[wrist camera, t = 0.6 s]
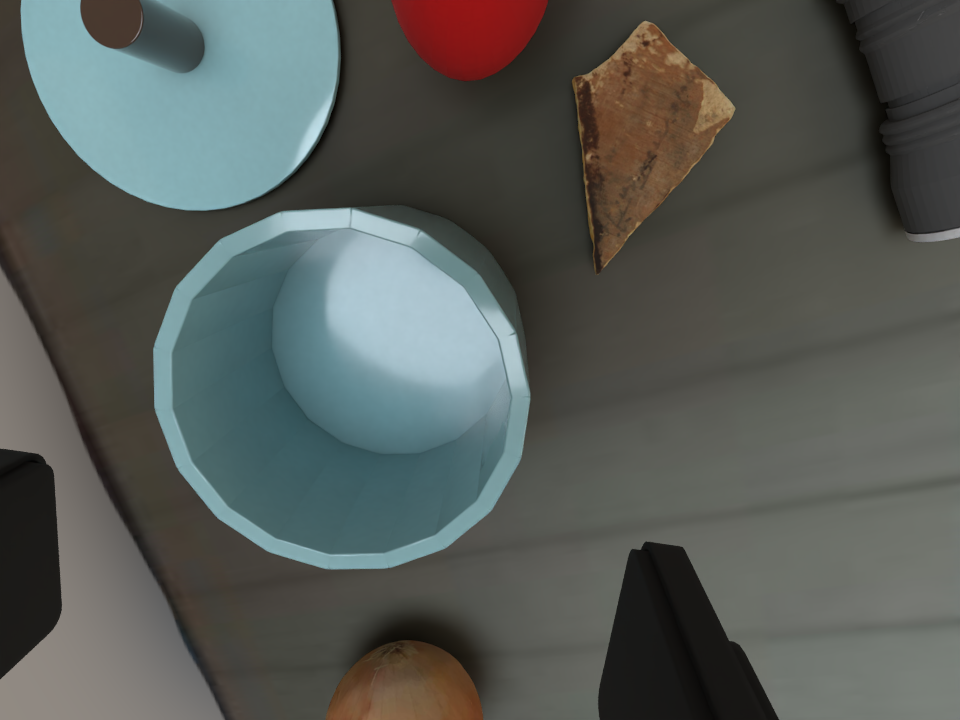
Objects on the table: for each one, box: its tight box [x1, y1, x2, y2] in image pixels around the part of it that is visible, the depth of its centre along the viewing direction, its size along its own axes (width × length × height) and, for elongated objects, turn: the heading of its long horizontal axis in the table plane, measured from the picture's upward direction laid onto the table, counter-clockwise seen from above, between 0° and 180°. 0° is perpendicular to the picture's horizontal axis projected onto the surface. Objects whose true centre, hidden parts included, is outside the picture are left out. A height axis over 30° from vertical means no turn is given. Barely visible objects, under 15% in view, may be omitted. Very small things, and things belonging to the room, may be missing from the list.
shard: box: [572, 21, 735, 275], centre depth 32 cm, size 11×8×2 cm
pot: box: [153, 205, 531, 569], centre depth 31 cm, size 16×16×12 cm
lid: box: [21, 0, 341, 211], centre depth 29 cm, size 17×17×7 cm
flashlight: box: [835, 0, 960, 242], centre depth 29 cm, size 15×5×5 cm, turn 26°
